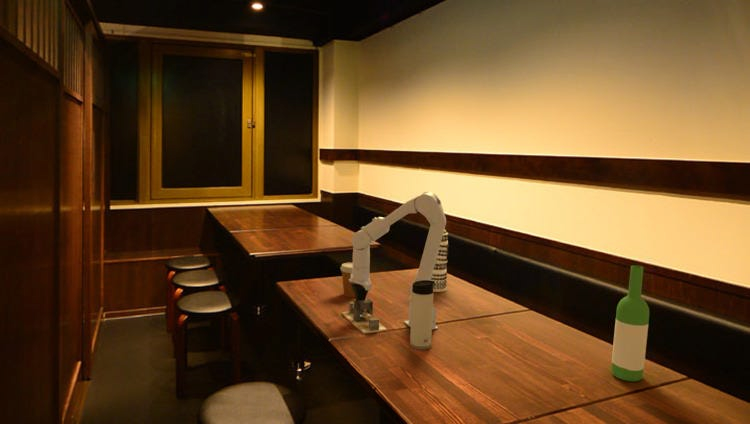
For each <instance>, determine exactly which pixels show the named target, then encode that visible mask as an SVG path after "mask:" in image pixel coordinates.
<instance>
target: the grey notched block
mask: <svg viewBox="0 0 750 424" xmlns="http://www.w3.org/2000/svg"><path fill="white" fill-rule="evenodd" d="M353 302H354V319H355V320H356V321H365V320H366V319H365V318H364V317H362V316H360V310H365V311H366V312H367V313H368V314H370V315H371V316H373V310H374V308H373V307H374V301H372V300H371V299H365V300H359V301H356V300H354V301H353Z"/></svg>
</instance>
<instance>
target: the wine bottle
mask: <svg viewBox="0 0 750 424" xmlns="http://www.w3.org/2000/svg"><path fill="white" fill-rule="evenodd" d="M643 276H644V266H641V265H637V264H636V265H635V264H634V265H631V266H630V273H629V283H628V290H627V292H628V293H627V295H626V296H624V297H623V298H621V299H620V301H619V302H618V304H617V306H616V313H615V324H614V333H613V334H614V335H613V343H612V352H611V353H612V355H611V356H612V357H611V366H610V370H611V373H612V375H613V376H614V377H616V378H617V379H619V380H622V381H626V382H630V383H631V382H638V381H641V380H642V379H643V377H644V369H645V362H646V352H647V350H646V349H647V344H648V343H647V340H648V331H649V319H650V307H649V305H648V303H647V302H646V301H645V300H644V298H642V289H643V278H644V277H643Z"/></svg>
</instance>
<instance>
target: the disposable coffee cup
mask: <svg viewBox="0 0 750 424" xmlns="http://www.w3.org/2000/svg"><path fill="white" fill-rule="evenodd" d="M352 270H353V261H352V262H345V263H342V264H341V266H340V271H341V278H342V287H343V295H344V296H345V297H347V298H348V297H349V298H355V294H354V291H353V289H352V287H351V284H355V283H354V282H350V281H349V279H350V276H351V274H352Z"/></svg>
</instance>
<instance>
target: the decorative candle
mask: <svg viewBox="0 0 750 424" xmlns="http://www.w3.org/2000/svg"><path fill="white" fill-rule="evenodd" d="M428 233H429V231H428ZM448 235H449V232H447V229H446V228H445V229H444V232H443V236H442V240H441V243H440V247H439V251H438V254H437V258H436V261H435V265H434V269H433V273H432V278H431V281H435V285H434V284H433V293H434V292H437V293H438V292H439V293H440V292H445V291H447V286H448V285H447V282H448V281H447V278H448V276H447V275H448V272H447V263H448V261H449V260H448V256H449V252H450V251H449V250H448V248H450V245H449V244H450V243H449V241H448V239H449V238H448Z"/></svg>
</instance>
